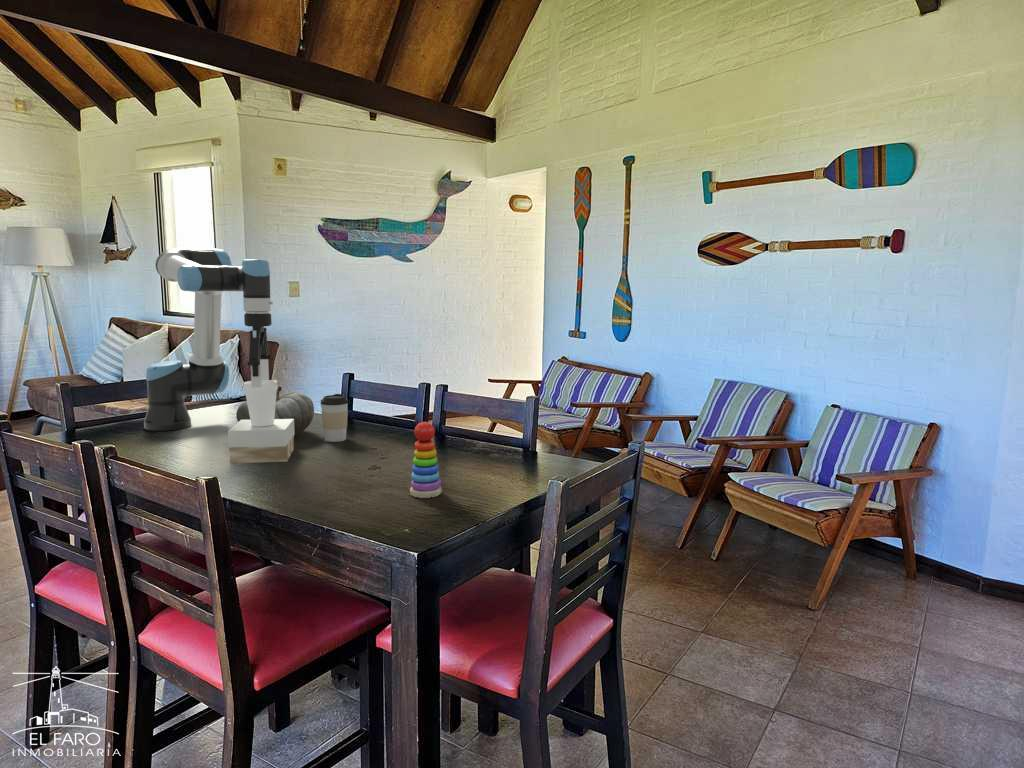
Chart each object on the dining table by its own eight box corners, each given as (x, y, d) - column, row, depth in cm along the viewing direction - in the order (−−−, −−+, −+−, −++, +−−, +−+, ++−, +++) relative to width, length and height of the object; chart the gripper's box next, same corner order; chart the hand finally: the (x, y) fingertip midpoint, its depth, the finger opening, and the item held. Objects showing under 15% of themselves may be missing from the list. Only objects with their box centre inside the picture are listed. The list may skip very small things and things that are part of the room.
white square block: (241, 435, 215) (241, 419, 215) (294, 434, 218) (294, 418, 217) (228, 447, 200) (227, 430, 199) (285, 446, 202) (284, 429, 201)
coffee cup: (341, 443, 226) (340, 398, 224) (316, 441, 228) (315, 397, 225) (353, 437, 235) (352, 393, 232) (329, 435, 236) (327, 392, 234)
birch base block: (241, 451, 216) (240, 435, 215) (294, 449, 219) (293, 434, 218) (230, 464, 200) (229, 448, 199) (287, 462, 203) (286, 446, 202)
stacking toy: (410, 489, 177) (410, 418, 175) (442, 489, 178) (441, 418, 175) (409, 499, 170) (408, 425, 167) (441, 499, 170) (441, 425, 167)
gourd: (329, 430, 232) (317, 380, 229) (256, 452, 218) (242, 400, 215) (304, 424, 252) (293, 379, 250) (235, 445, 238) (222, 396, 236)
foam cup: (285, 423, 208) (283, 381, 207) (258, 428, 201) (255, 384, 199) (266, 420, 214) (264, 379, 212) (239, 425, 207) (237, 382, 205)
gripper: (264, 315, 191) (267, 390, 194) (277, 310, 215) (279, 377, 218) (235, 314, 189) (239, 390, 193) (251, 310, 214) (254, 377, 217)
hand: (260, 383), depth 206 cm, fingers open, 13 cm apart
